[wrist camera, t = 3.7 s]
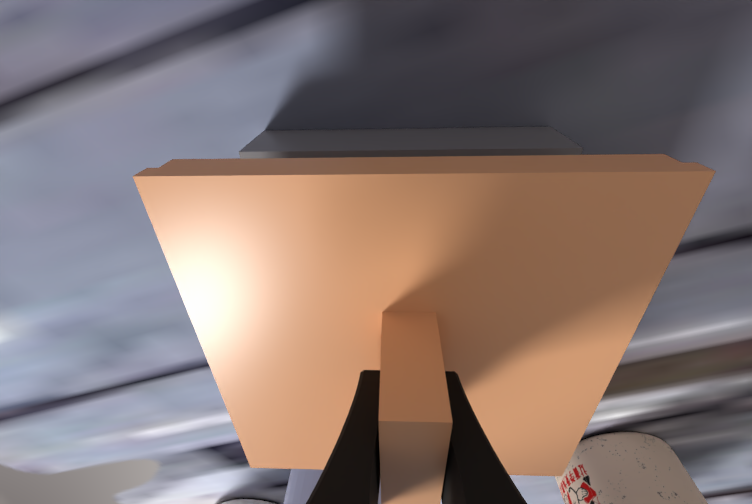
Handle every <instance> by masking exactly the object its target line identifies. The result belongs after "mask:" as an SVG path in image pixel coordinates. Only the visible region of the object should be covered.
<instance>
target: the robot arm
mask: <svg viewBox="0 0 752 504" xmlns="http://www.w3.org/2000/svg"><path fill="white" fill-rule="evenodd" d="M445 375H446V382H447V389H448V395H449V402H450V408H451V415H452V421H453V424H452V430H451V437H450V443H449V449H448V456H447V462H446V469H445V475H444V481H443V488H442V494H441V499H442V504H527V503H526V501H525V500H524V498H523V497H522V495H521V494H520V492H519V491H518V489H517V488H516V486H515V484H514V483H513V481H512V480H511V478H510V476H509V475H508V473H507V471H506V470H505V468H504V466H503V465H502V463H501V461H500V460H499V458H498V456H497V454H496V453H495V451H494V449H493V447H492V446H491V444H490V442H489V440H488V438H487V436H486V434H485V433H484V431H483V429H482V427H481V425H480V423H479V421H478V419H477V417H476V415H475V413H474V411H473V409H472V407H471V405H470V403H469V401H468V398H467V396H466V394H465V391H464V389H463V387H462V384H461V382H460V379H459V376H458V374H457V373H456V372H455V371H445ZM379 392H380V370H363V371H362V372H360V377H359V382H358V385H357V389H356V392H355V396H354V399H353V402H352V404H351V407H350V410H349V413H348V416H347V418H346V420H345V423H344V425H343V428H342V430H341V433H340V435H339V438H338V440H337V442H336V444H335V447H334V449H333V451H332V453H331V455H330V457H329V459H328V462H327V464H326V466H325V468H324V470H317V469H291V472H290V477H289V481H288V485H287V490H286V494H285V499H284V503H283V504H381V481H380V451H379Z"/></svg>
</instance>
